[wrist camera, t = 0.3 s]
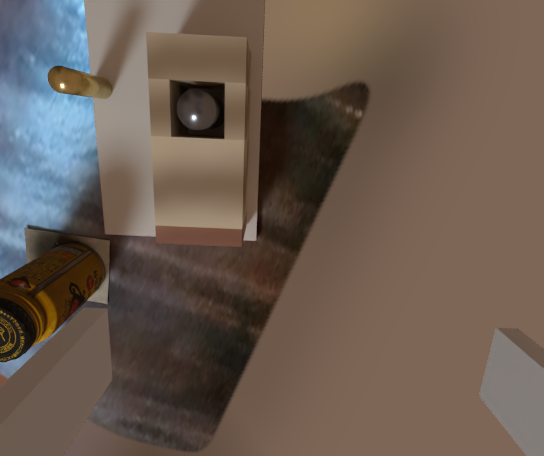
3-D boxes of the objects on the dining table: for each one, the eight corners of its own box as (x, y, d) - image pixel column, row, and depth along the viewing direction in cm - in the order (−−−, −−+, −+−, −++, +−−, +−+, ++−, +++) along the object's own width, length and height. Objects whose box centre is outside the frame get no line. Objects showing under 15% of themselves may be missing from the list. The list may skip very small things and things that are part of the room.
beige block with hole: (169, 49, 30) (146, 31, 25) (251, 53, 31) (246, 37, 25) (174, 223, 35) (156, 243, 29) (246, 226, 35) (241, 246, 29)
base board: (86, -19, 30) (82, -22, 29) (265, -9, 30) (265, -12, 29) (108, 231, 36) (105, 234, 35) (256, 238, 36) (256, 240, 36)
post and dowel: (95, 77, 32) (44, 64, 25) (227, 84, 32) (215, 73, 25) (99, 123, 33) (51, 122, 26) (227, 129, 33) (215, 130, 26)
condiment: (108, 303, 38) (39, 380, 27) (28, 291, 38) (-77, 364, 26) (111, 239, 36) (37, 293, 25) (26, 226, 36) (-89, 275, 24)
